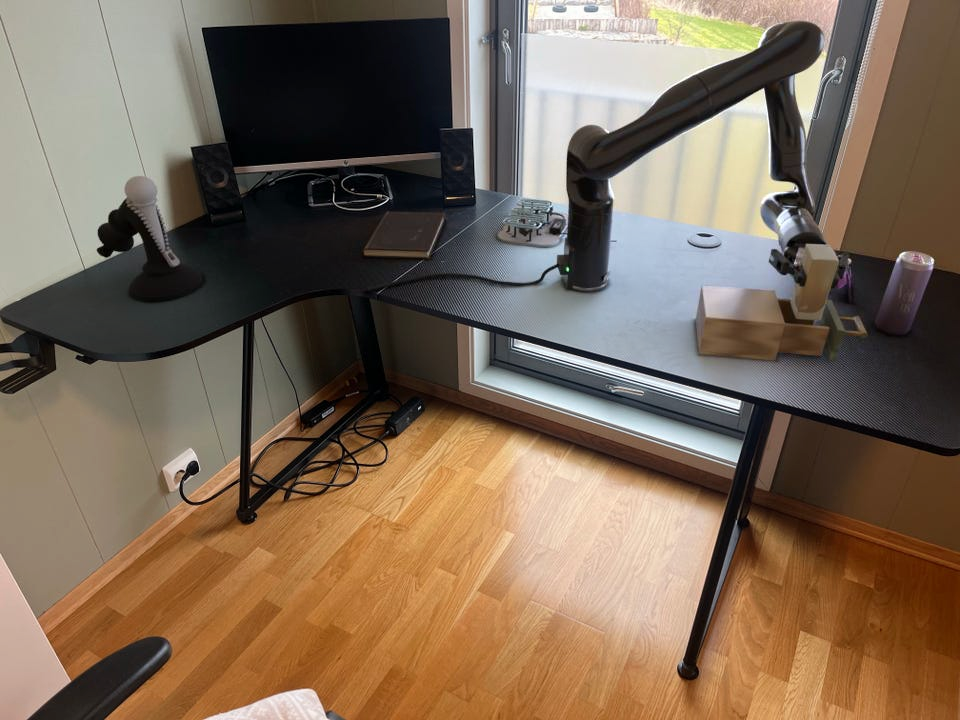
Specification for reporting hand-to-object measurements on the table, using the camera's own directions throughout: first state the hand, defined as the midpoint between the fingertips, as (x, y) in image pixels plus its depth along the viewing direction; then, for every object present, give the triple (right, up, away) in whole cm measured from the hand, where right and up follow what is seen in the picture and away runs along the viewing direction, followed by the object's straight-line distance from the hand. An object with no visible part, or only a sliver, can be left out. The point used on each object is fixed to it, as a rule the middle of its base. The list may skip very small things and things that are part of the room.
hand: (818, 282), depth 121 cm
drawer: (+3, -10, +9) cm, 14 cm away
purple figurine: (+17, +1, +27) cm, 32 cm away
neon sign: (-38, +19, +56) cm, 70 cm away
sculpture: (-133, +4, +37) cm, 138 cm away
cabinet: (-10, -9, +12) cm, 19 cm away
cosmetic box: (+1, -5, +7) cm, 8 cm away
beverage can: (+21, -7, +14) cm, 27 cm away
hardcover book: (-77, +17, +54) cm, 96 cm away
